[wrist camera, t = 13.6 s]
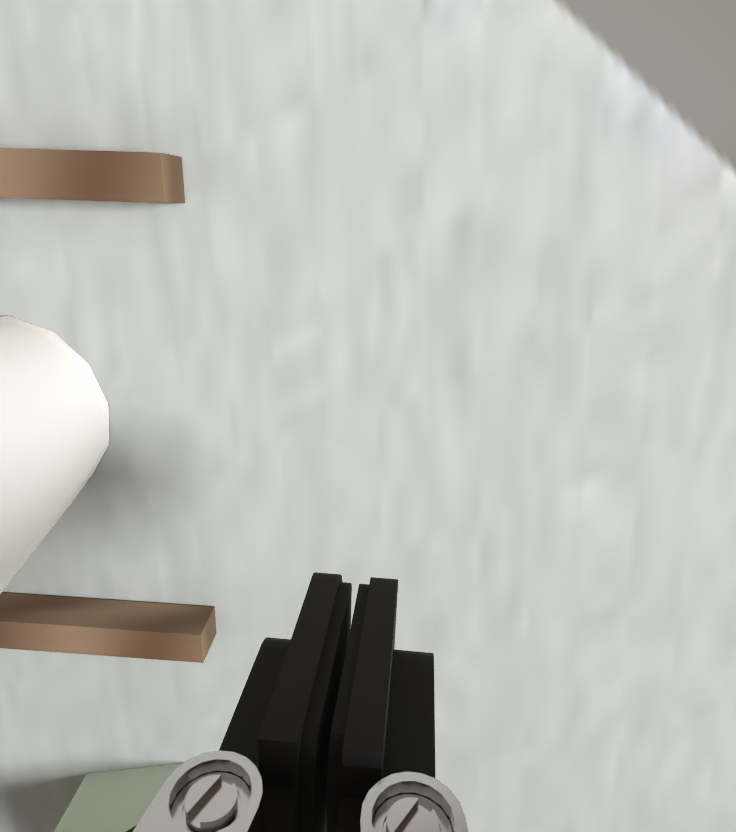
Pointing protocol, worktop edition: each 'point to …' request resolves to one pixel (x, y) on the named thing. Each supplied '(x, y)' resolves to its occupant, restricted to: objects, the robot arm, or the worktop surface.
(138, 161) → the dark wooden bay
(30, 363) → the foam cup
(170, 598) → the worktop surface
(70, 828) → the sage painted block
